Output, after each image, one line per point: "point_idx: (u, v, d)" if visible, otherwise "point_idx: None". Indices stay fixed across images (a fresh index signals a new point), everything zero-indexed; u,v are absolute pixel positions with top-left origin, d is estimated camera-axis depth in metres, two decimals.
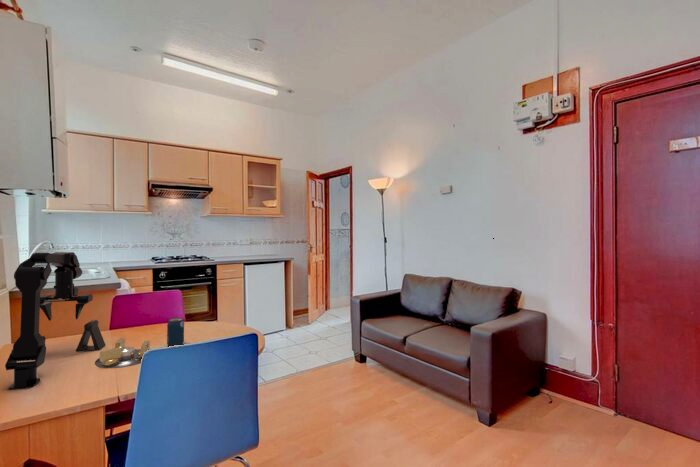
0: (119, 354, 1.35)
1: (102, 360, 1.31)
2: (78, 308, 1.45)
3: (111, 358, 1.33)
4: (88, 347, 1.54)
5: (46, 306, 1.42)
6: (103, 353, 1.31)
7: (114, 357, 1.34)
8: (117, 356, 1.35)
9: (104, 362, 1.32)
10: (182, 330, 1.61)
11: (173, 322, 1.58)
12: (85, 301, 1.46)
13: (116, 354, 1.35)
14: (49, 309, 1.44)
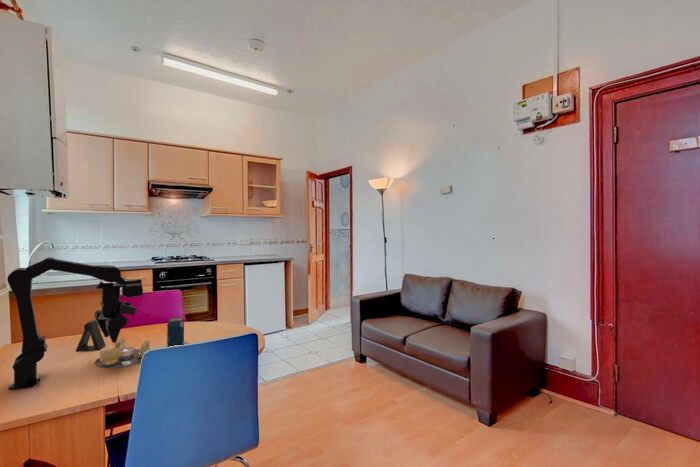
0: (119, 354, 1.35)
1: (102, 360, 1.31)
2: (108, 331, 1.28)
3: (111, 358, 1.33)
4: (88, 347, 1.54)
5: (100, 321, 1.36)
6: (103, 353, 1.31)
7: (114, 357, 1.34)
8: (117, 356, 1.35)
9: (104, 362, 1.32)
10: (182, 330, 1.61)
11: (173, 322, 1.58)
12: (108, 325, 1.26)
13: (116, 354, 1.35)
14: (106, 325, 1.37)
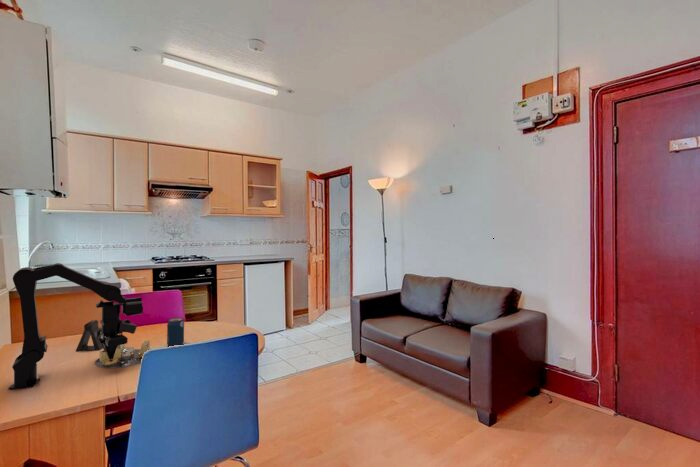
0: (119, 354, 1.35)
1: (102, 360, 1.31)
2: (105, 348, 1.30)
3: None
4: (88, 347, 1.54)
5: (103, 342, 1.33)
6: (103, 353, 1.31)
7: (114, 357, 1.34)
8: (117, 356, 1.35)
9: (104, 362, 1.32)
10: (182, 330, 1.61)
11: (173, 322, 1.58)
12: (108, 345, 1.26)
13: (116, 354, 1.35)
14: None
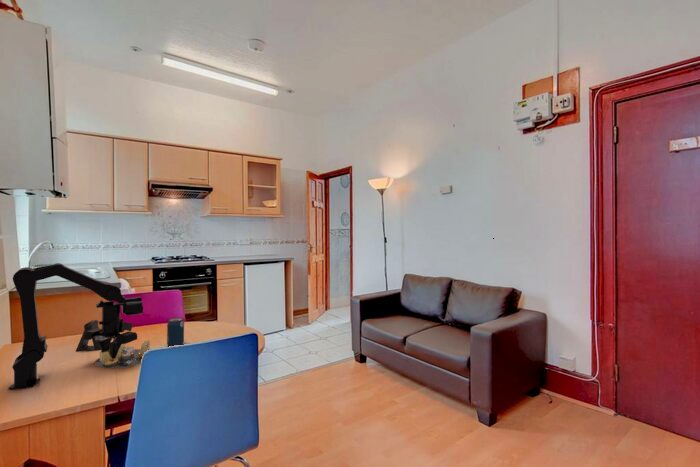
0: (119, 354, 1.36)
1: (103, 360, 1.31)
2: (111, 347, 1.31)
3: (111, 358, 1.34)
4: (88, 347, 1.54)
5: (101, 343, 1.32)
6: (104, 353, 1.31)
7: None
8: (117, 356, 1.35)
9: (104, 362, 1.32)
10: (182, 330, 1.61)
11: (173, 322, 1.58)
12: (123, 342, 1.29)
13: None
14: (106, 345, 1.34)
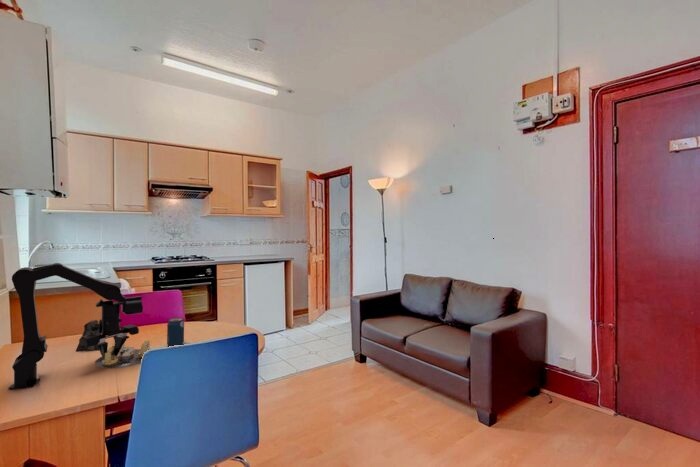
0: None
1: (110, 360, 1.32)
2: (123, 342, 1.36)
3: (113, 357, 1.34)
4: (88, 347, 1.54)
5: None
6: (111, 353, 1.32)
7: (114, 356, 1.35)
8: (114, 355, 1.36)
9: (111, 362, 1.32)
10: (182, 330, 1.61)
11: (173, 322, 1.58)
12: (137, 332, 1.40)
13: (114, 353, 1.36)
14: None
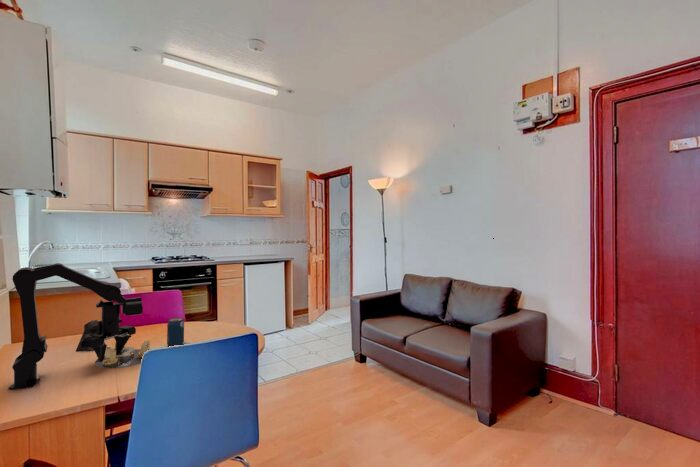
0: None
1: None
2: (126, 342, 1.38)
3: None
4: (88, 347, 1.54)
5: None
6: None
7: None
8: None
9: (115, 361, 1.33)
10: (182, 330, 1.61)
11: (173, 322, 1.58)
12: (135, 332, 1.41)
13: None
14: None
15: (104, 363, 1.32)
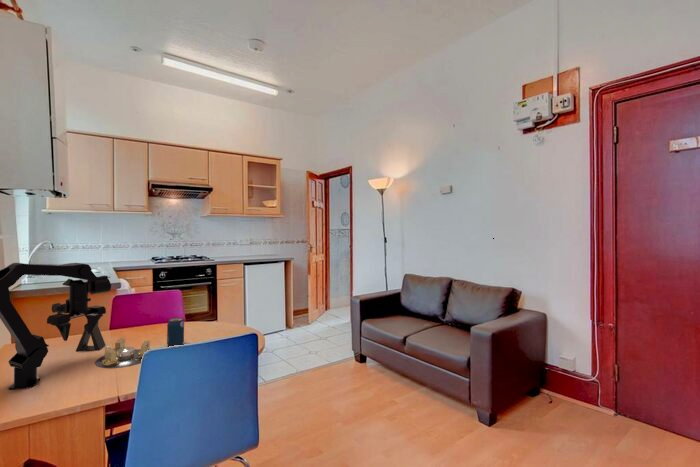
0: None
1: None
2: (97, 320, 1.39)
3: None
4: (88, 347, 1.54)
5: None
6: None
7: None
8: None
9: (115, 361, 1.33)
10: (182, 330, 1.61)
11: (173, 322, 1.58)
12: (105, 312, 1.41)
13: None
14: None
15: (104, 363, 1.32)
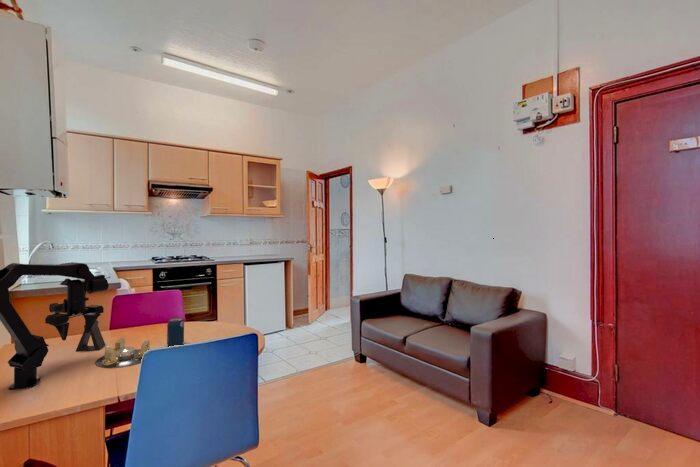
0: None
1: None
2: (95, 320, 1.39)
3: None
4: (88, 347, 1.54)
5: None
6: None
7: None
8: None
9: (115, 360, 1.33)
10: (182, 330, 1.61)
11: (173, 322, 1.58)
12: (102, 311, 1.41)
13: None
14: None
15: (104, 363, 1.32)
